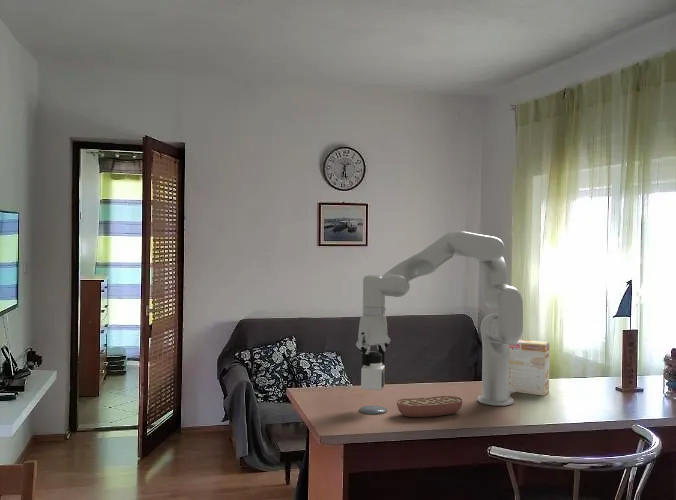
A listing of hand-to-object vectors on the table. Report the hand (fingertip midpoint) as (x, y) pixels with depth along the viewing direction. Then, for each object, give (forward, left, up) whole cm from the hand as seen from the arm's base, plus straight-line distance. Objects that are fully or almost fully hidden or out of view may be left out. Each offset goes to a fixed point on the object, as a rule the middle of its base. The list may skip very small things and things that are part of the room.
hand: (373, 363), depth 222 cm
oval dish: (-11, +16, -16) cm, 25 cm away
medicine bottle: (0, 0, -8) cm, 8 cm away
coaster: (0, 0, -16) cm, 16 cm away
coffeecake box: (-64, +19, -16) cm, 69 cm away
